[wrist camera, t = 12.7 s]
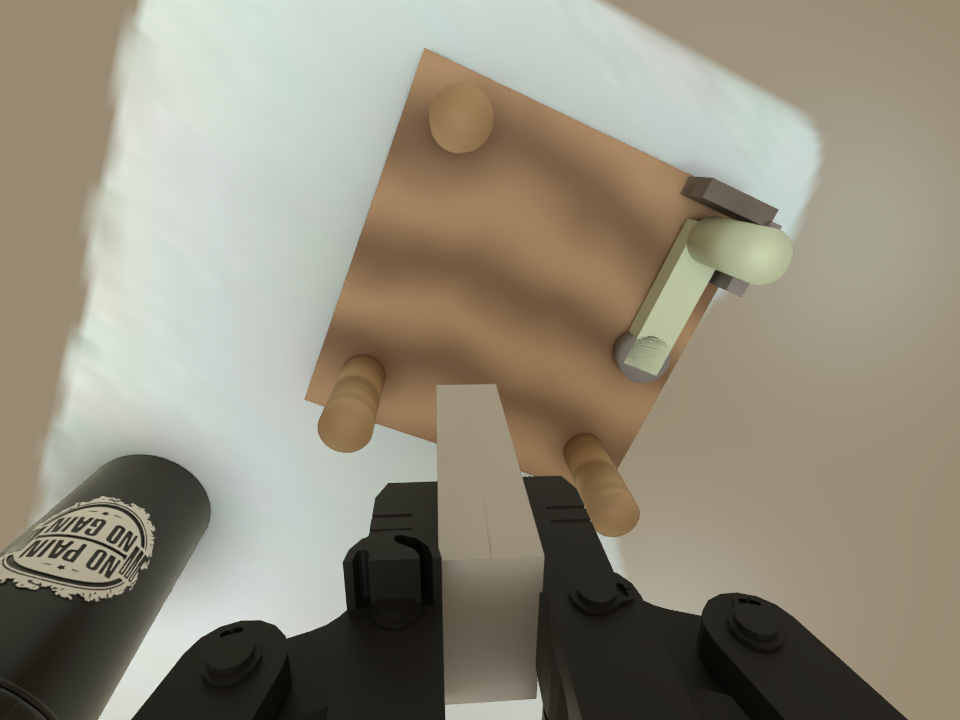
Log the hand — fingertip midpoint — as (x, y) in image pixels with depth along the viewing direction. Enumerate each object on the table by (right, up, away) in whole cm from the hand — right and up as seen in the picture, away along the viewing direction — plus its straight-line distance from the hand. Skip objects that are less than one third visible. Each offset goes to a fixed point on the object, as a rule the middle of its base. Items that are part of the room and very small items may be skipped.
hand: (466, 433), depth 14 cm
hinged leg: (+12, +6, +21) cm, 25 cm away
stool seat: (+3, +6, +23) cm, 24 cm away
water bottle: (-24, -9, +26) cm, 36 cm away
